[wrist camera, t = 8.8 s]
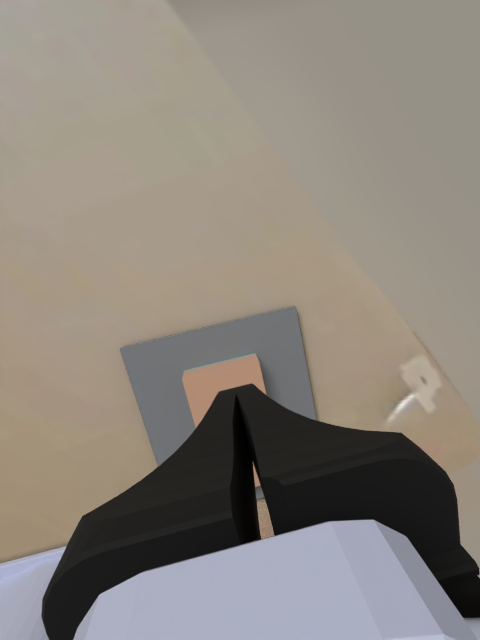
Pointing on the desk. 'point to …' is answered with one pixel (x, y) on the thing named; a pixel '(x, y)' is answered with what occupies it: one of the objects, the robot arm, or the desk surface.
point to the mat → (207, 348)
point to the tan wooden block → (220, 384)
